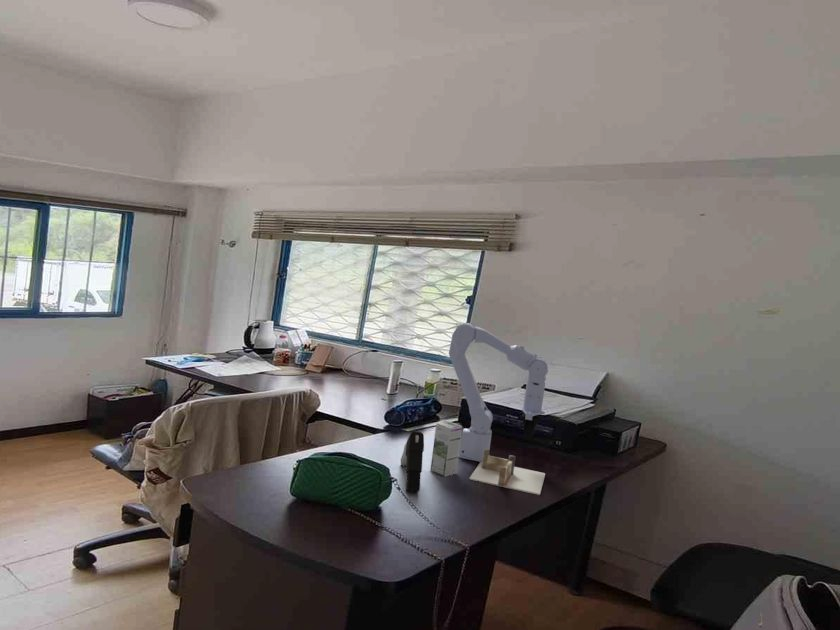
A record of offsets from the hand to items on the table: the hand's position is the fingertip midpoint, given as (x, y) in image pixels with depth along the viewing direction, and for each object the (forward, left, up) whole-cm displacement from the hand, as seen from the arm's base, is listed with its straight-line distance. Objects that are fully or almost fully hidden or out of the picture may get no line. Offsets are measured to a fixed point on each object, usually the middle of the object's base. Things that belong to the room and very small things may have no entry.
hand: (528, 437), depth 183 cm
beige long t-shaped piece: (-4, -19, -9) cm, 21 cm away
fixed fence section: (-7, -11, -9) cm, 16 cm away
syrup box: (-21, -22, -10) cm, 32 cm away
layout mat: (-3, -13, -9) cm, 17 cm away
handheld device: (-28, -34, -10) cm, 45 cm away
